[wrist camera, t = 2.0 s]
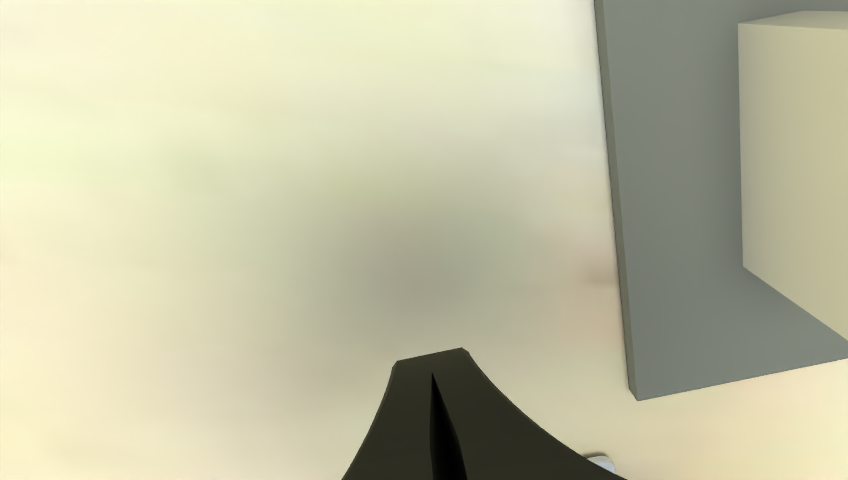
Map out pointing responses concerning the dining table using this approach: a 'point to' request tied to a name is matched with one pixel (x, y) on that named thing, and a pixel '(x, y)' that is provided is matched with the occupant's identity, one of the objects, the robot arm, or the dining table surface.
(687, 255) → the tile mat
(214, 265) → the dining table surface
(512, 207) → the dining table surface
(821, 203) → the tile
